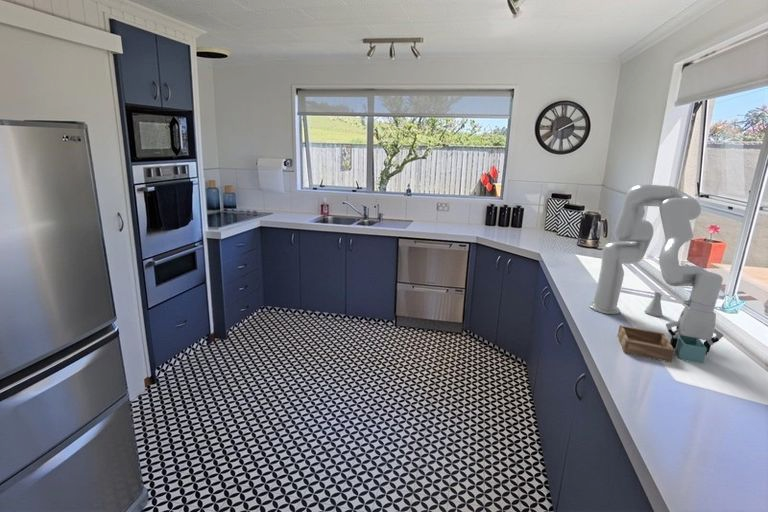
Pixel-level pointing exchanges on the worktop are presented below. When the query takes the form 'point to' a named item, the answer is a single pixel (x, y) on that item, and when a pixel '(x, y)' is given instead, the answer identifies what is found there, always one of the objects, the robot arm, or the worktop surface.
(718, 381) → the worktop surface
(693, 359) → the small crate
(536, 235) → the worktop surface
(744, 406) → the worktop surface
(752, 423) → the worktop surface
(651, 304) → the flask
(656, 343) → the big crate
